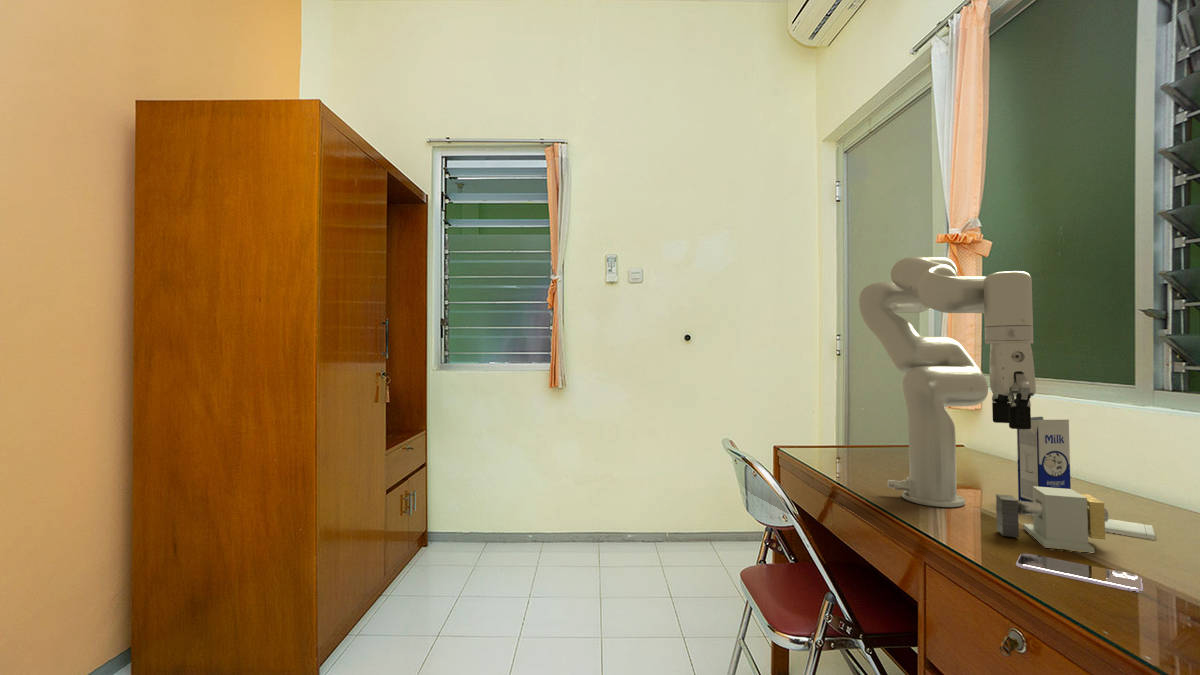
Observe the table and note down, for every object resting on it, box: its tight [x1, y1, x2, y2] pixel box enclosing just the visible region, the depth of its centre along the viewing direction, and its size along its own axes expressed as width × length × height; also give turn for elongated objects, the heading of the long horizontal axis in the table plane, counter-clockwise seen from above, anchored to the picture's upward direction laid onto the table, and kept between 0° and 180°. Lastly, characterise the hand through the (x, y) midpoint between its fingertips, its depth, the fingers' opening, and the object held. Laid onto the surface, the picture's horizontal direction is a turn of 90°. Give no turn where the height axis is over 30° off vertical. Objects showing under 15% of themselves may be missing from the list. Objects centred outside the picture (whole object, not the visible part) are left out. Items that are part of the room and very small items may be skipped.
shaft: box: [995, 494, 1109, 538], centre depth 103 cm, size 16×4×7 cm, turn 67°
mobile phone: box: [1015, 552, 1144, 593], centre depth 88 cm, size 8×1×15 cm
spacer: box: [1080, 493, 1106, 540], centre depth 101 cm, size 2×6×6 cm, turn 157°
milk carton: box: [1016, 416, 1072, 502], centre depth 127 cm, size 7×7×20 cm
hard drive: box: [1105, 518, 1156, 541], centre depth 110 cm, size 2×8×12 cm
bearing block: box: [1022, 486, 1095, 553], centre depth 103 cm, size 7×12×9 cm, turn 157°
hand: (1010, 425), depth 106 cm, fingers open, 9 cm apart
